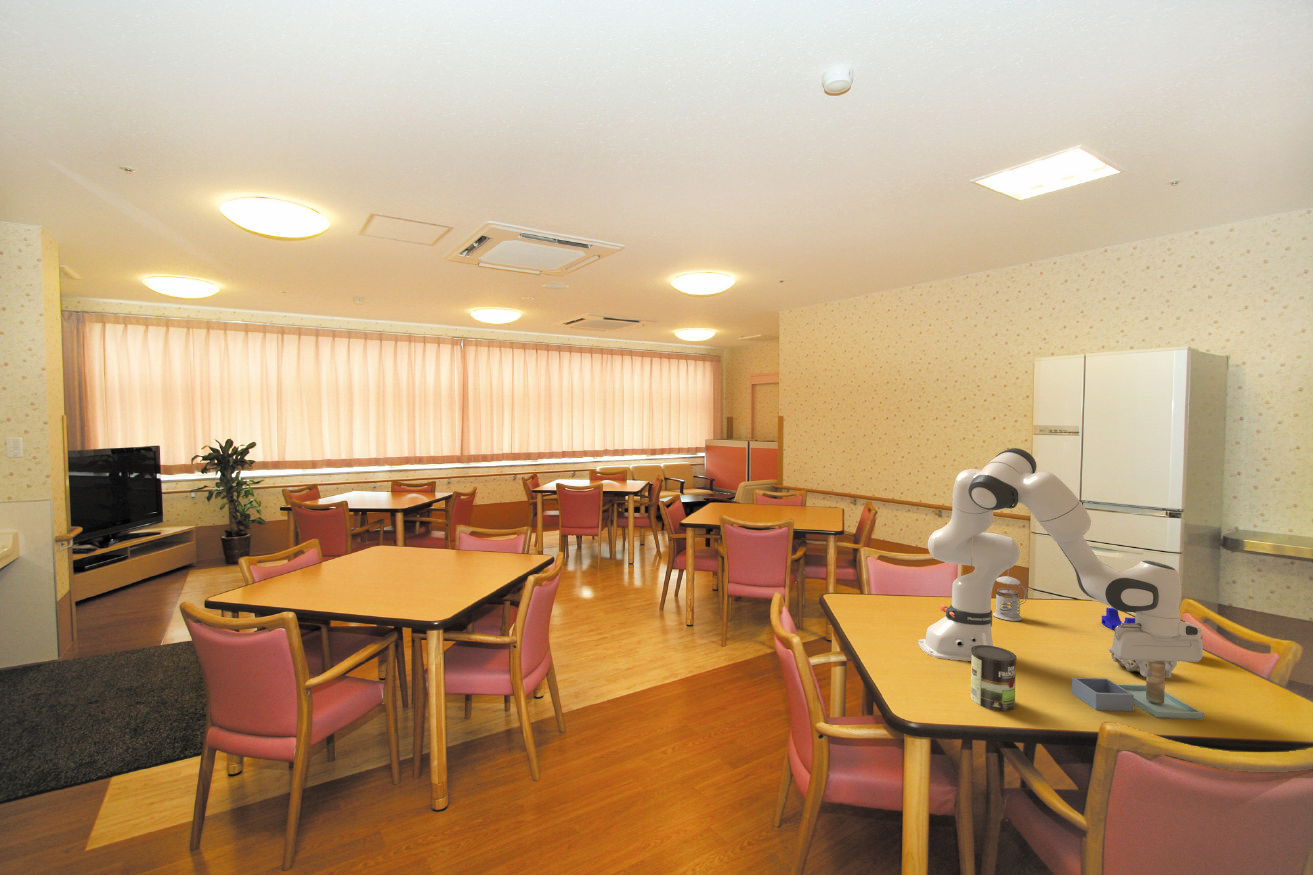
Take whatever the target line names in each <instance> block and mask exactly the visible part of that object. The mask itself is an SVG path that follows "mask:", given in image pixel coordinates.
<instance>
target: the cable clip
mask: <svg viewBox="0 0 1313 875" xmlns="http://www.w3.org/2000/svg"><path fill="white" fill-rule="evenodd" d="M1105 610H1106V611H1105V615H1101V622H1100V623H1101V625H1103V626H1106V627H1107V628H1109V629H1110V630H1115V628H1116V627H1117V626H1118V625H1120V624H1121V623H1127V624H1130V623H1135V617H1124V621H1123V622H1122V620H1121V619H1120V614H1119V610H1116V609H1114V608H1112V607H1106V609H1105ZM1120 627H1121V626H1120Z"/></svg>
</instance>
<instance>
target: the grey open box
mask: <svg viewBox="0 0 1313 875" xmlns="http://www.w3.org/2000/svg"><path fill="white" fill-rule="evenodd" d="M1117 684H1118V683H1115V682H1114V681H1112V680H1111V679H1109V678H1104V677H1103V678H1102V677H1100V678H1099V677H1097V678H1096V677H1072V678H1071V694H1072V695H1073V696H1075V697H1076V698H1078V699H1079V700H1080V701H1082V702H1083V703H1084V704H1087V705H1088V706H1089V707H1091V708H1092V709H1093V710H1095V711H1110V712H1111V711H1112V712H1134V705H1135V704H1134V695H1133V694H1132V693H1130V692H1128V691H1127V690H1125V689H1124V688H1122V687H1120V686H1119V685H1117Z"/></svg>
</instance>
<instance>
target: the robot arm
mask: <svg viewBox="0 0 1313 875" xmlns="http://www.w3.org/2000/svg"><path fill="white" fill-rule="evenodd" d="M1037 466H1038V465H1037V461H1036V459H1035V458H1034V457H1033V455H1032V454H1031V453H1029V451H1026V450H1024V449H1022V448H1018V447H1011V448H1007V449H1005V450H1003V451H1001V452H999V453H997V455H995V457H994V458H993V459H991V460H989V462H988V463H987V464H986V465H984V467H983V468H982V469H979V468H978V469H977V468H968V469H967V468H966V469H965V470H961V471H960V472H959V473H958V475H957V476H956V477H955V480H954V485H953V488H952V498H951V499H952V508H951V509H952V511H951V517H950V520H949V521H948V523H946V524H945V525H944V526H943V527H941V528H939V529H936V530H934V531H933V532H932V533H931V534H930V536H929V537H928V540H927V550H928V552H929V554H930V555H931V557H932V559H934V560H936V561H940V562H944V563H947V564H951V565H952V564H953V565H961V566H971V567H974V570H973V571H971V572H970V573H968V574H964V575H961V576H958V577H957V578H955V579H954V580H953V582H952V585H951V604H950V605H949V607H948V606H946V605H945V604H941V605H940V606H939V610H940V611H941V612H943V613H945V616H943V617H942V618H940V619H939V620H938V621H936V622H934V623H932V624H931V625H929V626H928V627H927V629H926V632H925V638H919V639H918V640H917V645H919V646H920V647H919V646H918V647H919V648H921V649H922V651H923V653H925V652H926V653H927V654H926V653H925V654H926V655H928V654H929V655H928V656H930V655H931V656H930V657H932V656H933V658H934V657H935V658H934V659H938V658H943V659H942V660H948V659H950V660H949V661H958V660H964V661H963V662H968V661H971V659H972V652H971V648H972V647H973V646H977V645H988V646H994V643H993V637H992V636H993V635H992V627H993V610H992V609H991V607H992V594H993V588H994V585H995V583H996V582H997V581H996V579H997V578H999V577H1001V575H1002V574H1003V573H1004V572H1006V571H1008V569H1009V570H1010V569H1011V568H1013V567H1014V566H1015V565H1016V564H1017V563H1018V561H1019V559H1020V556H1021V555H1020V548H1019V545H1018V544H1017V542H1016V541H1015V539H1014V538H1013V537H1011V536H1007V535H1004V534H999V533H994V532H987V531H988V529H989V528H990V527H991V526H992V525H993V522H994V511H999V510H1003V509H1008V510H1009V509H1011V510H1012V509H1015V508H1016V507H1017V506H1018V504H1022V505H1024V506H1025V507H1026V508H1027V509H1028V510H1029V511H1030V512H1031V514H1032V515H1033V516H1034V518H1035V519H1036V521H1037V522H1038V523H1039V525H1040V526H1041V528H1043V529H1044V530H1045V532H1046V533H1047V534H1048V535H1049V536H1050V537H1051V538H1052V539H1053V540H1054V541H1055V542H1056V544H1057V545H1058V547H1059V548H1060V549H1061V552H1062V553H1063V554H1064V556H1065V557H1066V558H1067V560H1068V561H1069V563H1070V564H1071V566H1072V567H1073V569H1074V572H1075V574H1076V575H1075V576H1076V579H1077V580H1076V581H1077V585H1078V586H1079V589H1080V590H1081V591H1082V593H1083V594H1085V595H1086V596H1087V597H1089V598H1091V599H1093V600H1097V601H1098V602H1100V603H1102V604H1104V605H1105V606H1108V607H1109V608H1114V609H1116V610H1118V612H1124V613H1135V614H1134V615H1135V617H1134V618H1135V623H1130V624H1127V623H1124V622H1122V623H1121V624H1120V625H1118V626H1117V627H1116V628H1115V629H1114V636H1113V640H1112V647H1111V648H1112V652H1113V653H1114V655H1116V656H1117V657H1119V658H1121V659H1123V660H1136V662H1137V664H1138V665H1139V667H1140V672H1139V674H1140V675H1141V676H1143V677H1144V678H1147V677H1151V670H1149V669H1147V667H1146V665H1145V664H1147V662H1148V661H1165V662H1166V664H1165V678H1172V672H1173V671H1174V670H1175V668H1176V667H1177V665H1178V664H1177V663H1178V662H1185V663H1190V662H1191V663H1199V662H1200V661H1201V660H1202V659H1203V656H1204V655H1203V652H1204V651H1203V650H1204V649H1203V648H1204V647H1203V639H1202V640H1201V638H1200V637H1199V636H1200V635H1201V634H1202V633H1203V632H1202V628H1201V627H1200V626H1197V625H1195V624H1192V623H1190V622H1188V621H1186V620H1183V619H1181V612H1180V610H1179V608H1180V603H1181V601H1182V586H1181V577H1180V574H1179V572H1178V570H1177V569H1175V568H1174V567H1172V566H1170V565H1167V564H1163V563H1160V562H1156V561H1154V560H1153V561H1152V560H1141V561H1140V562H1139V563H1137V564H1136V565H1134V566H1132V567H1131V568H1128V569H1124V570H1121V571H1119V570H1117V569H1115V568H1113V567H1112V566H1109V565H1108V564H1106V563H1104V562H1102V561H1101V560H1100V559H1099V558H1098V557H1097V555H1096V554H1095V552H1094V551H1093V549H1092V547H1090V544H1088V542H1087V540H1086V539H1085V537H1084V535H1086V534H1087V533H1088V532H1089V530H1090V528H1091V526H1092V519H1091V517H1090V515H1089V512H1088V511H1087V510H1086V507H1085V506H1084V504H1083V503H1082V502H1081V501H1080V499H1079V498H1078V496H1076V495H1075V493H1074V492H1073V490H1071V488H1069V487H1068V486H1067V485H1066V484H1065V483H1064V482H1063V481H1062V480H1061V479H1060V478H1059V477H1058V476H1056V475H1055V474H1054V473H1052V472H1049V471H1038V472H1036V471H1037ZM1120 626H1121V627H1120ZM921 649H920V650H921Z"/></svg>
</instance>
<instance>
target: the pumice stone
mask: <svg viewBox="0 0 1313 875" xmlns="http://www.w3.org/2000/svg"><path fill="white" fill-rule="evenodd" d="M1108 652H1109V653H1110V654H1111V660H1112V661H1113V662H1115V663H1116V664H1118V666H1121V667H1122V668H1123V667H1124V668H1125V669H1126V671H1128V672H1138V673H1140V667H1139V665H1138V664H1137V662H1136V660H1123V659H1121V658H1119V657H1117V656H1116V655H1114V653H1113V652H1112V647H1109V648H1108ZM1160 662H1163V663H1165V664H1166V662H1165V661H1160ZM1145 665H1146V667H1147V664H1145Z"/></svg>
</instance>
